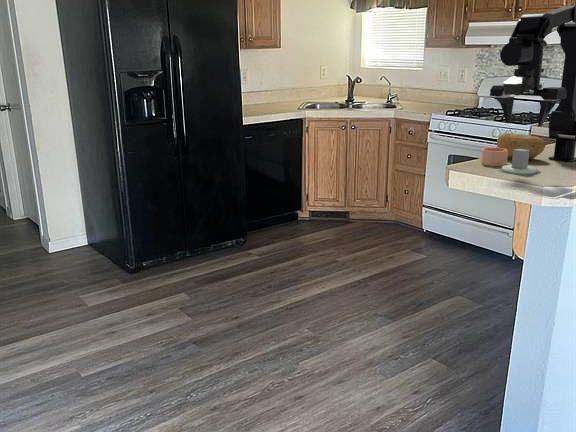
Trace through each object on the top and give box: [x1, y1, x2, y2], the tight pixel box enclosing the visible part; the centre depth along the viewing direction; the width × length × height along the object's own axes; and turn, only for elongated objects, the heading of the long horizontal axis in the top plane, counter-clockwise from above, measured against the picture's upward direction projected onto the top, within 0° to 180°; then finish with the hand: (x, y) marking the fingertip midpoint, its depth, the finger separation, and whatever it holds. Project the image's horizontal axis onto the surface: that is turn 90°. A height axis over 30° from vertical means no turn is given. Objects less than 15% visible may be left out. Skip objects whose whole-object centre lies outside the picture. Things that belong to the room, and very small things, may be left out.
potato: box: [496, 132, 546, 161], centre depth 169 cm, size 10×14×8 cm
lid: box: [501, 149, 538, 175], centre depth 152 cm, size 9×9×6 cm
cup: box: [479, 146, 509, 167], centre depth 163 cm, size 7×7×4 cm
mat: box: [497, 167, 542, 176], centre depth 153 cm, size 11×11×1 cm
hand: (523, 124), depth 149 cm, fingers open, 9 cm apart
